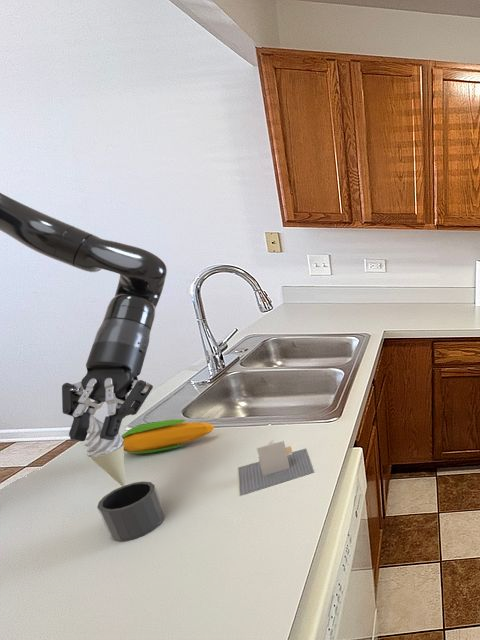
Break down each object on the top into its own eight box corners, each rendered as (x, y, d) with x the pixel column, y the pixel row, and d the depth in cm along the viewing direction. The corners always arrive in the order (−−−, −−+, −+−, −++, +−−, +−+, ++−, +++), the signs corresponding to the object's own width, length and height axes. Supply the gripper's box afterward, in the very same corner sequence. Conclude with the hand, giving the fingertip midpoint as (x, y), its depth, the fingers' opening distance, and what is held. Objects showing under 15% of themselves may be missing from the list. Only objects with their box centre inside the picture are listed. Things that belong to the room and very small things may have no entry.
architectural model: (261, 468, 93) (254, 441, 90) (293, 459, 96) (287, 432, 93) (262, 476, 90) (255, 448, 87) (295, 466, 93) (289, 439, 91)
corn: (119, 421, 98) (213, 405, 105) (130, 446, 101) (220, 429, 108) (107, 438, 92) (208, 420, 99) (119, 464, 95) (216, 445, 102)
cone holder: (100, 545, 72) (86, 515, 69) (126, 513, 79) (114, 485, 77) (152, 536, 74) (140, 507, 71) (172, 506, 81) (162, 478, 79)
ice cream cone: (145, 481, 74) (114, 411, 68) (111, 498, 70) (75, 425, 64) (133, 472, 76) (102, 404, 70) (100, 488, 72) (64, 417, 67)
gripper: (60, 340, 70) (24, 437, 63) (147, 338, 71) (120, 432, 64) (95, 357, 77) (66, 446, 70) (173, 355, 78) (152, 441, 71)
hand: (92, 439), depth 67 cm, fingers closed on ice cream cone, 4 cm apart
